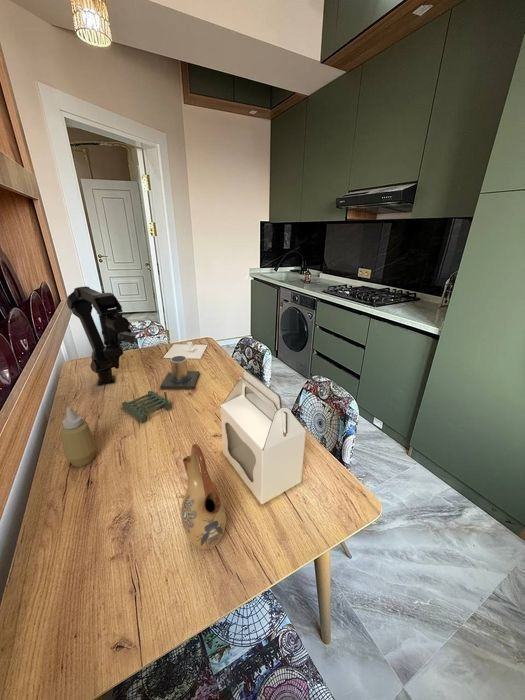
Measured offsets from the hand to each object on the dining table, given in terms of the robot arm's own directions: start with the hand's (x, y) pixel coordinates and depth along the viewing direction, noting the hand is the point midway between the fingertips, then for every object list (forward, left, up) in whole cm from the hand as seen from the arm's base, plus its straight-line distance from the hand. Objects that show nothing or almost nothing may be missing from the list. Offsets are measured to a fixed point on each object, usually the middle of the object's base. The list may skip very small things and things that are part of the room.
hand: (117, 363), depth 116 cm
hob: (+1, +24, -13) cm, 27 cm away
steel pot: (+1, +24, -11) cm, 26 cm away
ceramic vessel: (+75, +14, -13) cm, 77 cm away
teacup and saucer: (-33, +34, -13) cm, 49 cm away
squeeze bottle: (+37, -12, -13) cm, 41 cm away
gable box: (+62, +34, -13) cm, 72 cm away
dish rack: (+17, +8, -13) cm, 23 cm away
